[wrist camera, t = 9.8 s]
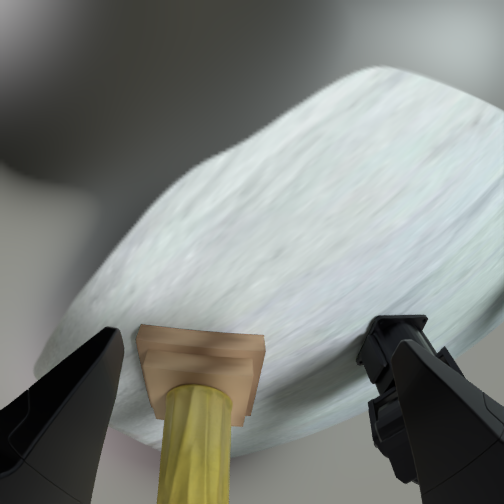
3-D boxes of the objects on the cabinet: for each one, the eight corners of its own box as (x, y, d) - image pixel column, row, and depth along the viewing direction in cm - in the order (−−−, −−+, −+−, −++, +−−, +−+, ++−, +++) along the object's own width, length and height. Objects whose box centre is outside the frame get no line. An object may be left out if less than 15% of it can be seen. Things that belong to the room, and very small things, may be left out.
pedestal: (263, 335, 25) (267, 369, 22) (249, 401, 30) (251, 430, 27) (141, 324, 24) (129, 356, 21) (154, 393, 29) (148, 421, 26)
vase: (172, 375, 22) (150, 541, 9) (242, 391, 23) (250, 549, 10) (161, 408, 24) (144, 542, 12) (221, 422, 26) (221, 551, 13)
